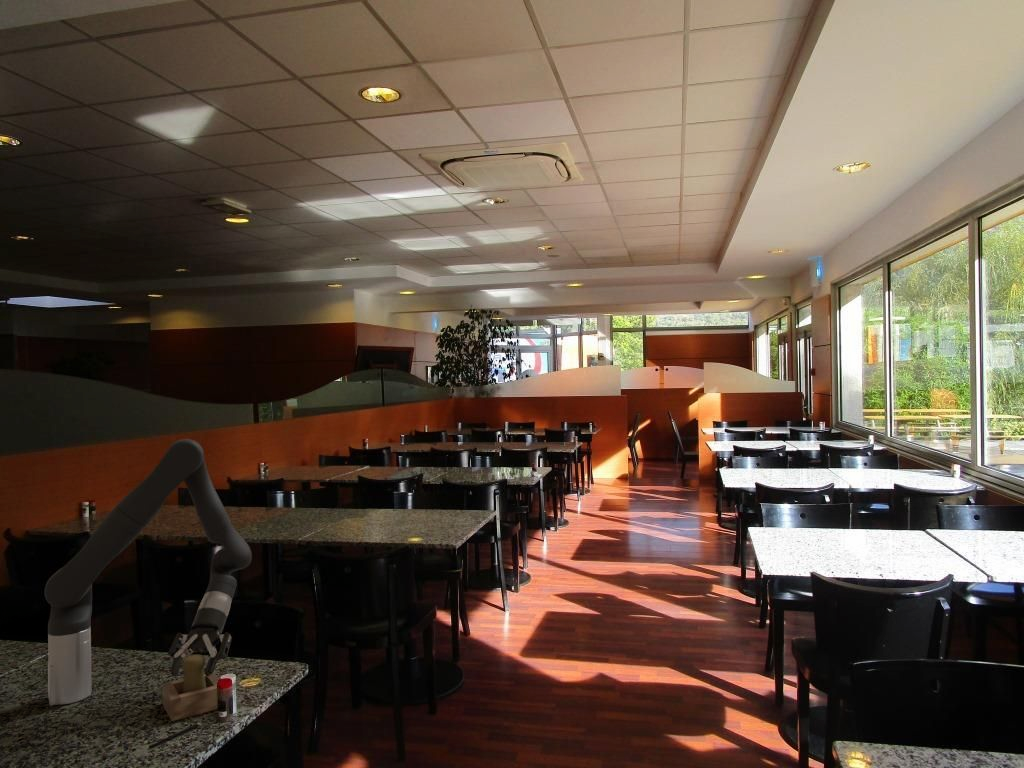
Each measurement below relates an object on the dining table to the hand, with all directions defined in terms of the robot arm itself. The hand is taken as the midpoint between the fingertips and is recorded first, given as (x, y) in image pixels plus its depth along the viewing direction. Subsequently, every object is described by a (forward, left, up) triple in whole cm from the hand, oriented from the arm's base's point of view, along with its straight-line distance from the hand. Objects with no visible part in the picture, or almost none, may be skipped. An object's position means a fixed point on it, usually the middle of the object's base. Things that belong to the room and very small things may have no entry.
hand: (190, 674), depth 170 cm
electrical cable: (-6, -14, -9) cm, 17 cm away
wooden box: (+1, +1, -8) cm, 8 cm away
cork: (+1, +1, -7) cm, 7 cm away
